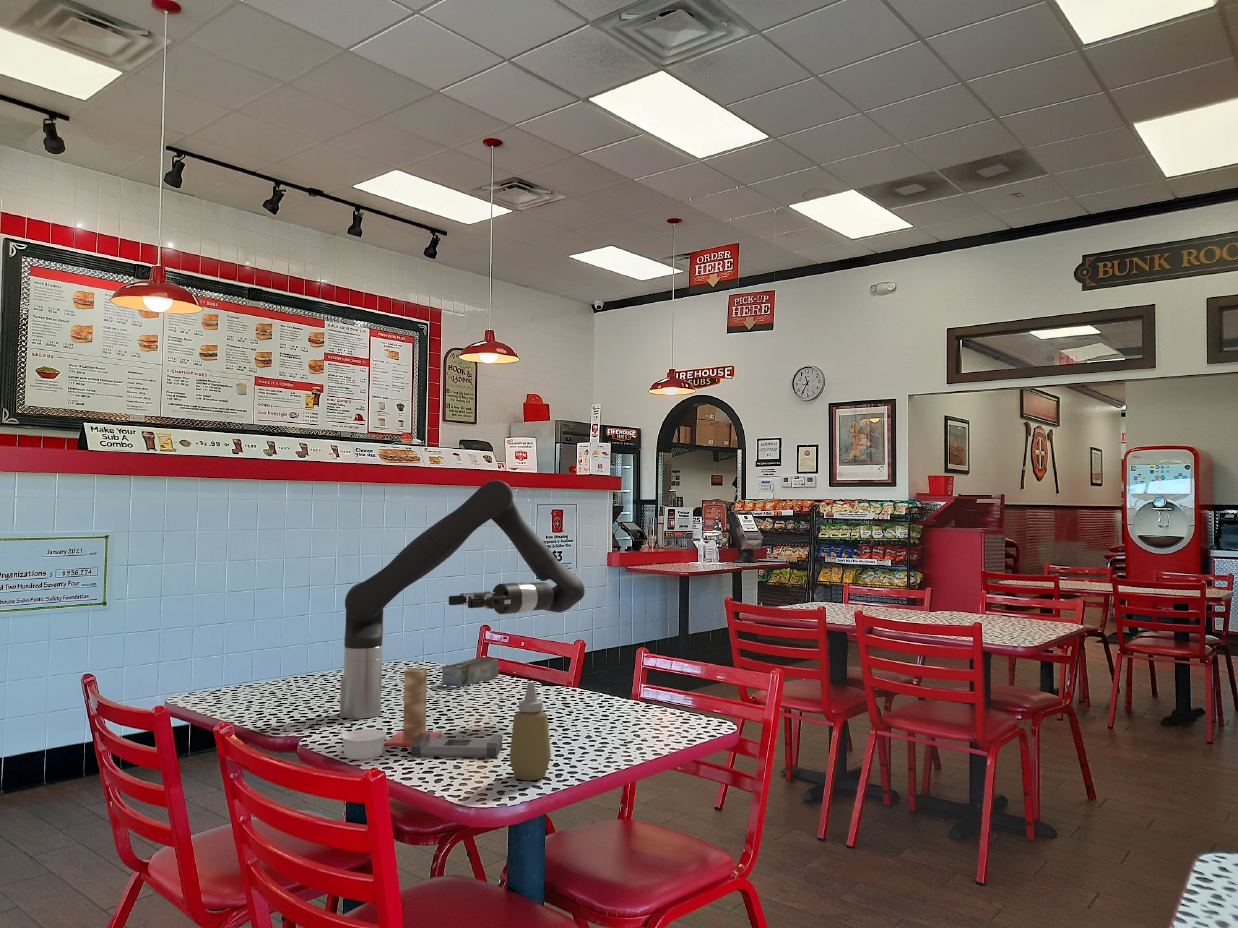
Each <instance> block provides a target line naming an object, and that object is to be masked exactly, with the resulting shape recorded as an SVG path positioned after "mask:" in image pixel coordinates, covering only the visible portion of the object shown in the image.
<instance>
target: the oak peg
mask: <svg viewBox="0 0 1238 928" xmlns="http://www.w3.org/2000/svg"><path fill="white" fill-rule="evenodd" d="M427 674H428V668H424V667H423V668H420V667H418V668H417V667H415V668H414V667H409V668H407V669H406V670H404V676H403V677H404V681H403V683H404V685H403V722H402V723H403V724H402V725H403V727H402V728H403V729H402V732H403V740H414V739H415V738H416V737H417V736H418V735H419V734H420V733H426V732H427V694H428V693H427V683H428V675H427Z"/></svg>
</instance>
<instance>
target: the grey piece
mask: <svg viewBox="0 0 1238 928" xmlns="http://www.w3.org/2000/svg"><path fill="white" fill-rule="evenodd" d="M501 749H503V734H501V733H498V734H497V733H493V734H492V735H491V737H490V738H466V737H465V738H461V737H459V738H458V737H457V738H456V737H454V738H453V737H449V738H448V737H439V738H430V733H420V734H419V735H418V736H417V737H416V738H415V739H414V740H413V741H411V746H410V756H411V757H436V756H442V758H444V757H446V758H447V757H450V758H453V757H454V758H497V757H498V756H499V754H500V753H501V751H502V750H501Z"/></svg>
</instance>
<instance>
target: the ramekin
mask: <svg viewBox="0 0 1238 928" xmlns="http://www.w3.org/2000/svg"><path fill="white" fill-rule="evenodd" d="M386 735H387V733H386V732H385V730H381V729H374V728H373V729H372V728H368V729H367V728H364V729H356V730H352V731H348V732H345V733H343V734H342V736H341V738H342V745H343V755H344V757H345V758H346V759H347V760H348V759H349V760H354V761H355V760H356V761H359V760H371V759H375V758H379V757H380V756H382V755H383V754H384V748H385V742H386V741H385V739H386Z"/></svg>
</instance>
